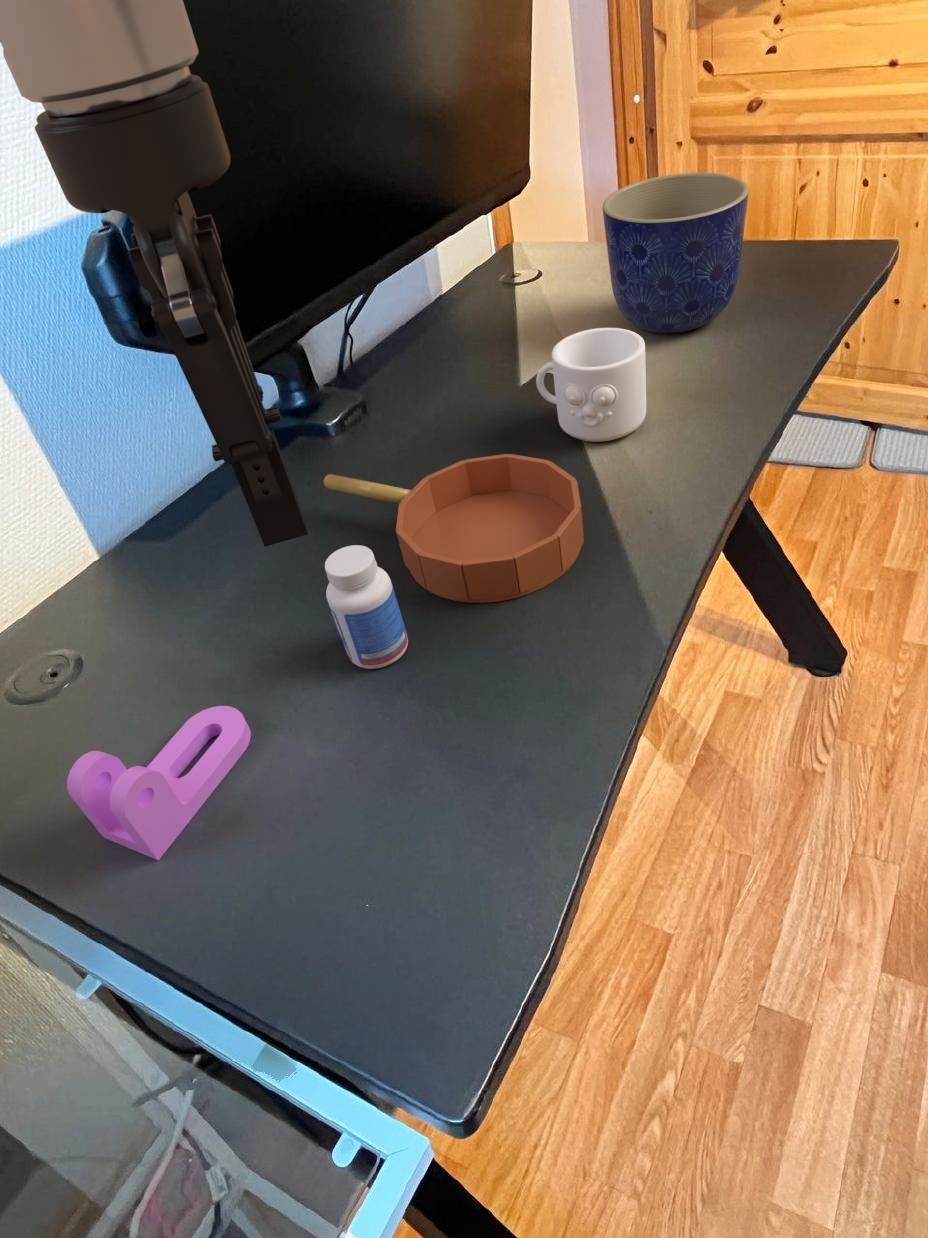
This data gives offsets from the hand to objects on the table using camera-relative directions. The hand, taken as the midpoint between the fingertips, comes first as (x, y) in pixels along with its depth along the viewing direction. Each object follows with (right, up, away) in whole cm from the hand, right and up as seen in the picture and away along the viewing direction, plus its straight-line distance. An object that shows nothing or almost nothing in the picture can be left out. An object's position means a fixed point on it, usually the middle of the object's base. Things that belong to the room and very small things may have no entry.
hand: (285, 533), depth 51 cm
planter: (+38, +34, +59) cm, 78 cm away
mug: (+25, +16, +43) cm, 52 cm away
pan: (+9, +3, +32) cm, 34 cm away
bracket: (-11, -18, +14) cm, 25 cm away
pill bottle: (+3, -8, +22) cm, 23 cm away
